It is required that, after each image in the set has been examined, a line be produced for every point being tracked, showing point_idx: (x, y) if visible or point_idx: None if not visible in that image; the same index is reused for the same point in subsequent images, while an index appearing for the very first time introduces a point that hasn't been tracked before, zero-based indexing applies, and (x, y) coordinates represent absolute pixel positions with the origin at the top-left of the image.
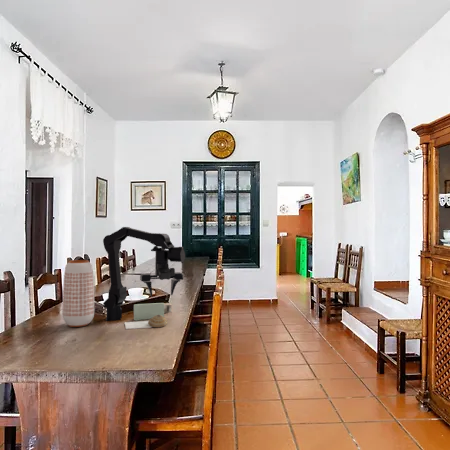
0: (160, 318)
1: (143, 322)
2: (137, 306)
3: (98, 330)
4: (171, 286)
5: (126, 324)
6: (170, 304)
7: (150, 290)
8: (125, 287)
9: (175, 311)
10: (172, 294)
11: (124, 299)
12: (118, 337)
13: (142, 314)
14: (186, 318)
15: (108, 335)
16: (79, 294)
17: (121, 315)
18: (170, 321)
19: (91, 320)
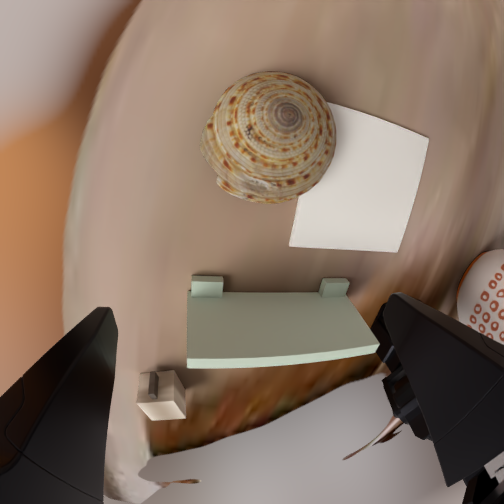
0: (277, 90)
1: (330, 218)
2: (359, 339)
3: (479, 181)
4: (89, 449)
5: (405, 212)
6: (141, 404)
7: (461, 329)
8: (428, 432)
9: (122, 377)
10: (92, 312)
11: (402, 385)
12: (458, 48)
13: (315, 309)
14: (66, 243)
15: (476, 97)
16: None
17: (381, 327)
18: (164, 201)
19: (466, 280)
